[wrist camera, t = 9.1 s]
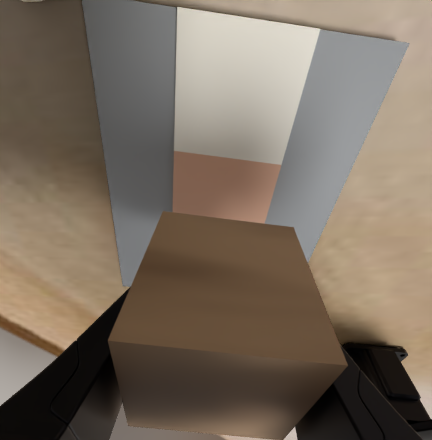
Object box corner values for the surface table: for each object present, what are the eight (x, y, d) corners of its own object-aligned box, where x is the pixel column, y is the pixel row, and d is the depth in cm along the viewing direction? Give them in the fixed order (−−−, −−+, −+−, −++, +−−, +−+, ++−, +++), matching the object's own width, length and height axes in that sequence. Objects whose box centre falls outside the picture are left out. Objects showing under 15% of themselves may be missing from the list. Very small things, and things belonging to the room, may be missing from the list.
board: (286, 296, 21) (289, 306, 20) (126, 278, 21) (121, 287, 20) (398, 44, 11) (412, 42, 10) (90, -4, 11) (78, -9, 10)
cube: (263, 307, 12) (282, 440, 8) (163, 296, 12) (128, 425, 8) (293, 227, 9) (347, 365, 5) (162, 211, 9) (107, 340, 5)
